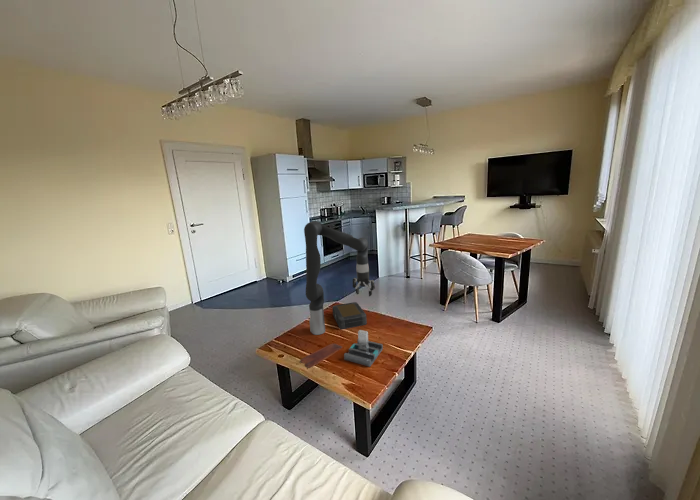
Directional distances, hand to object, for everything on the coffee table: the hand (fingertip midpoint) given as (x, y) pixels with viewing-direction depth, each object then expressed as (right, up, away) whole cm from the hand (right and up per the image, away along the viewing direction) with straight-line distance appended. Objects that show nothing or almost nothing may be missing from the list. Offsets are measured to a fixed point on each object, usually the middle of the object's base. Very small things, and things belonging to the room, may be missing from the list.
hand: (363, 295), depth 179 cm
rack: (-1, -32, -14) cm, 35 cm away
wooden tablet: (-25, -34, -11) cm, 44 cm away
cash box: (-10, -23, +30) cm, 39 cm away
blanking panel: (-1, -31, -14) cm, 34 cm away
